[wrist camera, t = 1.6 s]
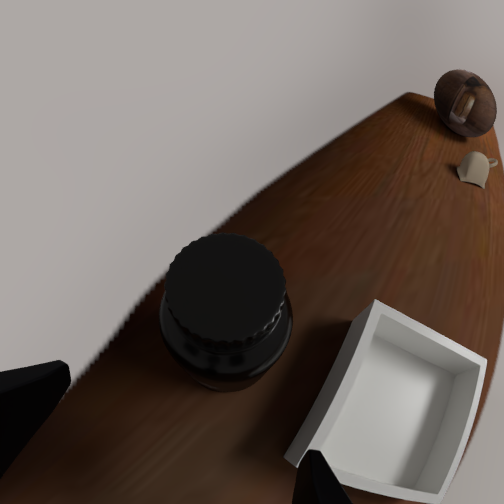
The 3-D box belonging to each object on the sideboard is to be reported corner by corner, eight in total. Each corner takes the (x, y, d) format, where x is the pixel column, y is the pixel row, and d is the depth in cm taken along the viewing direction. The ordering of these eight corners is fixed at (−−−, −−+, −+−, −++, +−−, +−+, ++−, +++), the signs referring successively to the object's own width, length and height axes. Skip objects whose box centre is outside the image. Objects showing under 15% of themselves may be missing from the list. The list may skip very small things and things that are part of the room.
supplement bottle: (182, 392, 19) (125, 365, 9) (184, 309, 22) (148, 212, 12) (274, 392, 19) (321, 365, 9) (269, 309, 23) (299, 212, 13)
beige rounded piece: (450, 164, 38) (464, 141, 33) (480, 175, 38) (494, 155, 33) (459, 180, 36) (474, 157, 31) (489, 191, 36) (504, 170, 31)
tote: (409, 496, 14) (439, 504, 10) (283, 456, 17) (295, 466, 13) (456, 372, 20) (487, 359, 16) (352, 320, 23) (375, 299, 19)
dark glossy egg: (444, 110, 52) (465, 63, 39) (487, 149, 45) (514, 101, 32) (412, 108, 48) (434, 51, 35) (462, 153, 41) (494, 93, 28)
